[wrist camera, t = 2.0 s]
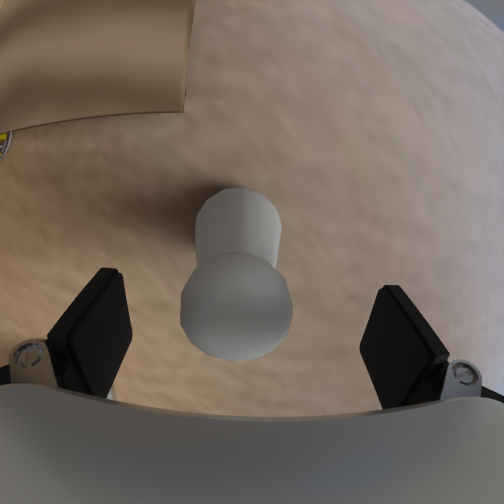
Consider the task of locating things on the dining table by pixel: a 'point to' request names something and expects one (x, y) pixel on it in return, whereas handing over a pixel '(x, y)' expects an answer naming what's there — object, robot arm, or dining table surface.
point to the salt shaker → (236, 279)
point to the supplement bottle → (5, 143)
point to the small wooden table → (91, 59)
